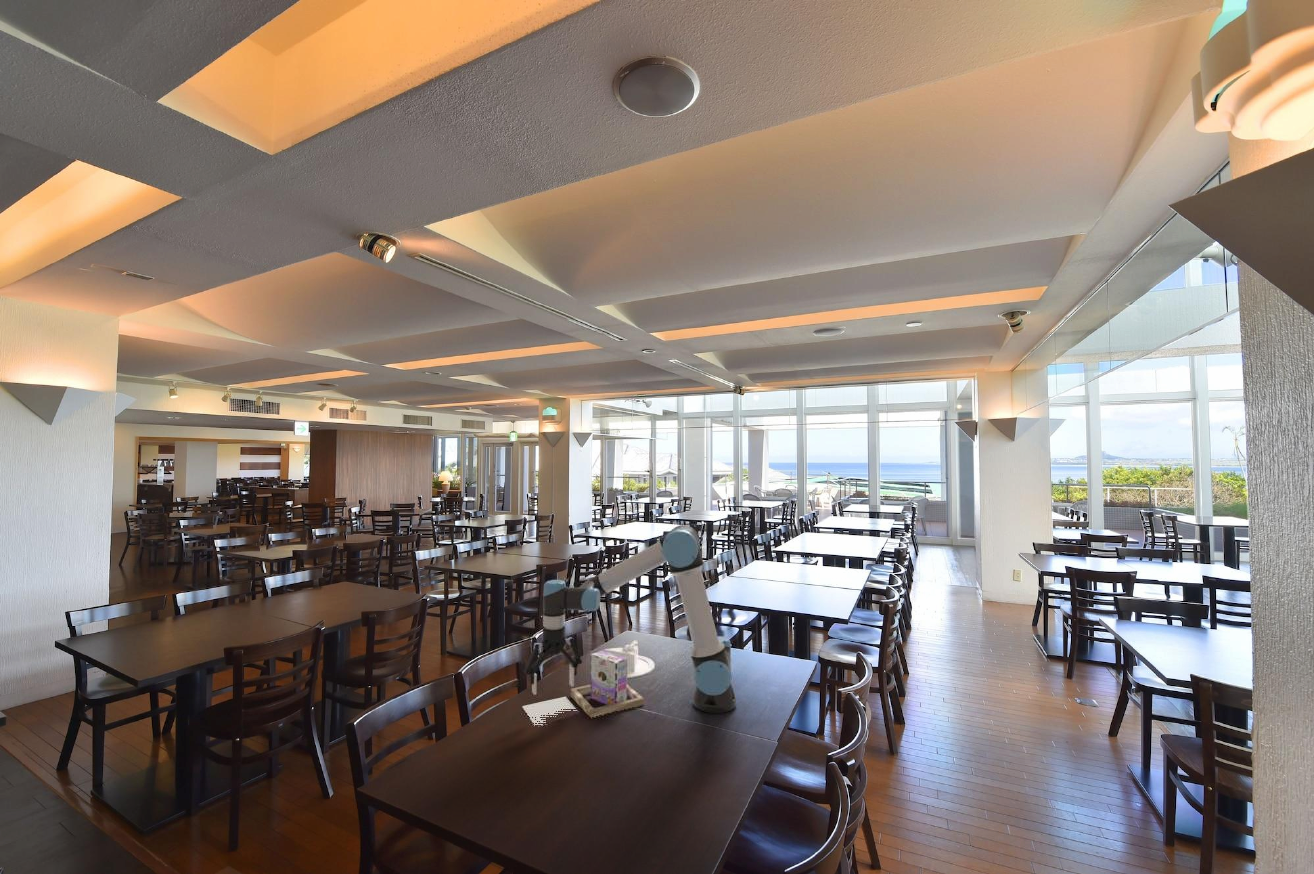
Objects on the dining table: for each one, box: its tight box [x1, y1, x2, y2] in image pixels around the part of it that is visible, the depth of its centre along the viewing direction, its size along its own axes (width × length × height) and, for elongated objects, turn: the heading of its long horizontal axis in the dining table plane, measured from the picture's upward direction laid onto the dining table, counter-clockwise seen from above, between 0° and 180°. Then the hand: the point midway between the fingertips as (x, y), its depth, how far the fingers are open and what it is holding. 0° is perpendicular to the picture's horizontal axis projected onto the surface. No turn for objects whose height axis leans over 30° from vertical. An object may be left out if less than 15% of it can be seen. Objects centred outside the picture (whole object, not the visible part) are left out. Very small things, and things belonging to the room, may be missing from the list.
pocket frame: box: [570, 684, 645, 719], centre depth 193 cm, size 20×20×3 cm
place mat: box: [521, 696, 578, 726], centre depth 183 cm, size 20×16×1 cm
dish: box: [603, 640, 656, 679], centre depth 225 cm, size 25×25×11 cm
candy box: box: [590, 650, 628, 706], centre depth 193 cm, size 14×6×16 cm, turn 48°
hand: (553, 689), depth 183 cm, fingers open, 13 cm apart
